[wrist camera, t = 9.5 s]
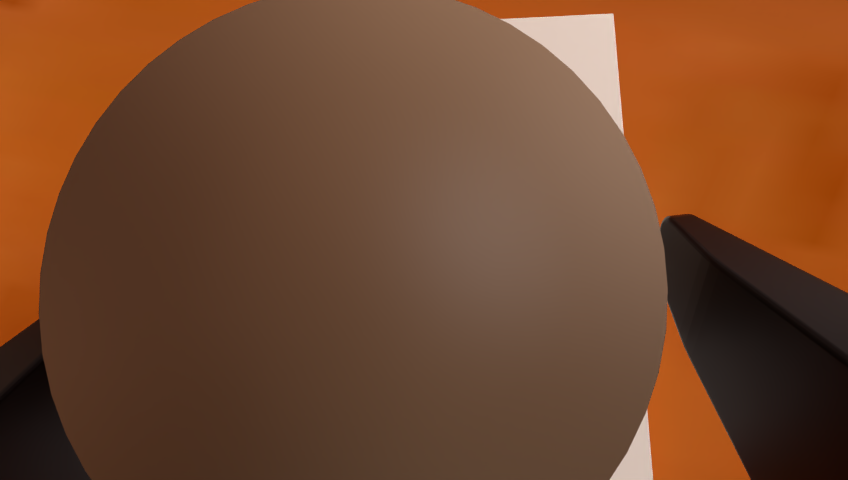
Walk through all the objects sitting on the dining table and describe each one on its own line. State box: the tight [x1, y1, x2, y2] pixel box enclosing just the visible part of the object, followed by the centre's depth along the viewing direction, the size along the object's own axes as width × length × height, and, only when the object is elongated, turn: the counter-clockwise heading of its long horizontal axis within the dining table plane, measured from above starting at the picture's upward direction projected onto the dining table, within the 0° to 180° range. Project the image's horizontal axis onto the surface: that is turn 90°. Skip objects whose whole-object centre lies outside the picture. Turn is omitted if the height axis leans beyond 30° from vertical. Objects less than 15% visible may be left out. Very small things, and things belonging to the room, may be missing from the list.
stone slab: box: [501, 14, 653, 480], centre depth 18 cm, size 16×12×2 cm
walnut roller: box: [39, 0, 668, 480], centre depth 11 cm, size 5×5×13 cm
